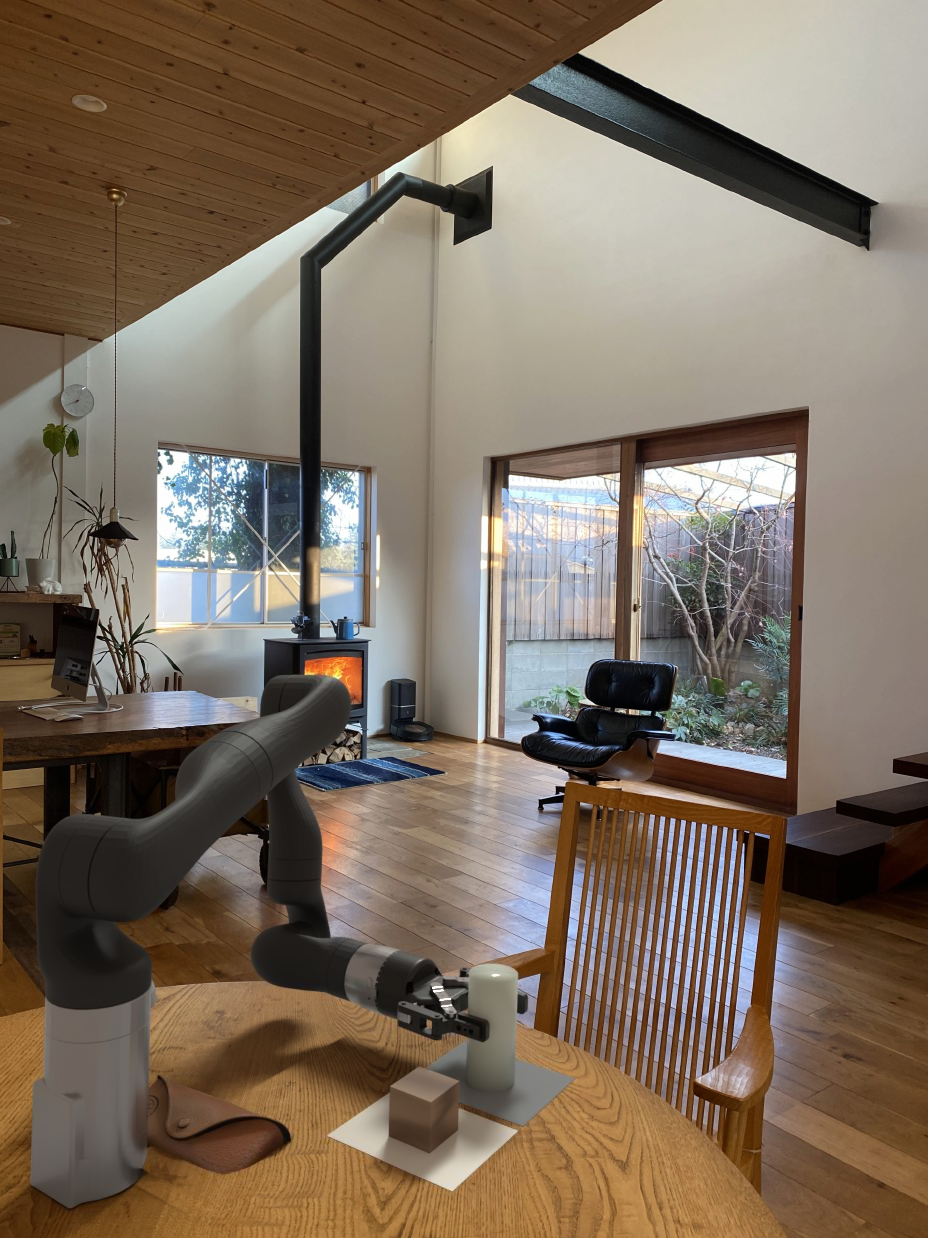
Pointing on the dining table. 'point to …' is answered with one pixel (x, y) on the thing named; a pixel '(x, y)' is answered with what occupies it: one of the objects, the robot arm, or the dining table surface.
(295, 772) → the robot arm
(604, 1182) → the dining table surface
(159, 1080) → the sunglasses case
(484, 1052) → the pale green pillar candle
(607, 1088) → the dining table surface
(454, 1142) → the cream mat
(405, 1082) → the walnut block
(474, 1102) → the slate mat
